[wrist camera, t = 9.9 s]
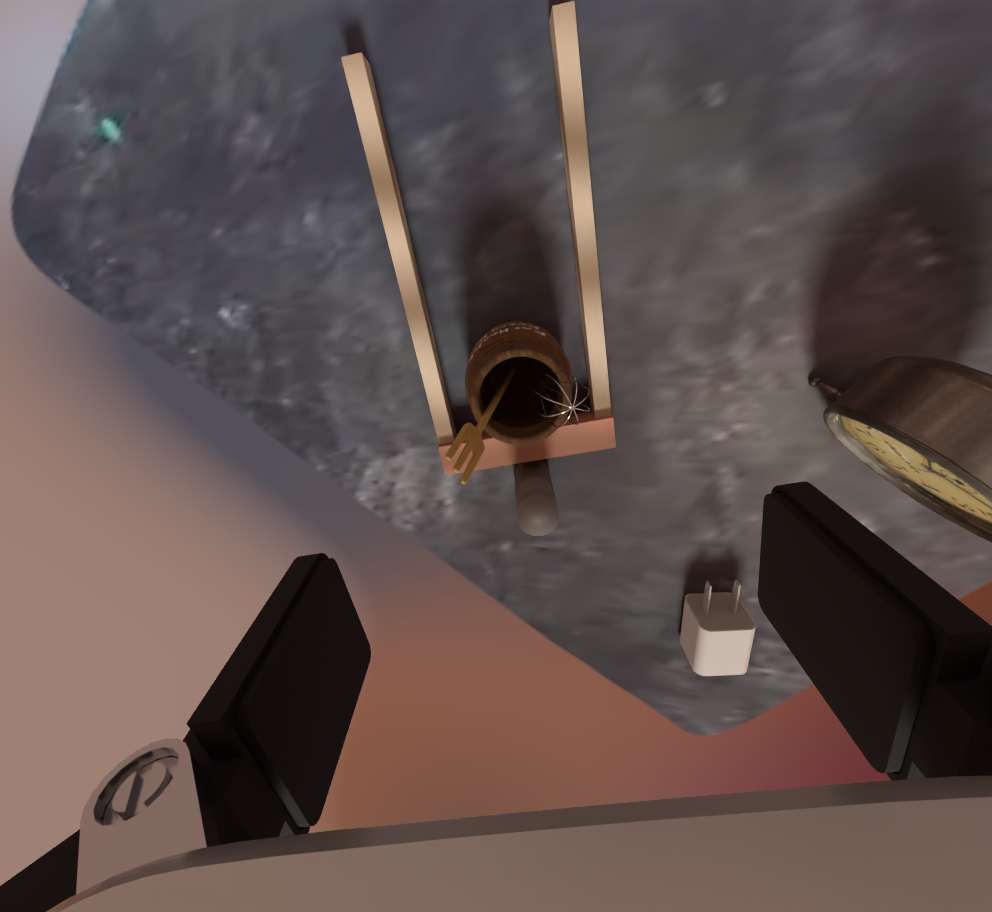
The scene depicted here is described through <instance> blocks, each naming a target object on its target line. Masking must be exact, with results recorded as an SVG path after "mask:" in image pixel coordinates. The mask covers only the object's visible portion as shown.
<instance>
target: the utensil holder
mask: <svg viewBox="0 0 992 912" xmlns="http://www.w3.org/2000/svg"><path fill="white" fill-rule="evenodd" d="M572 377H573V378H574V379H575V377H574V376H572V371H571V367H570V364H569V361H568V359H567V357H566V355H565V353H564V351H563V349H562V348H561V346H560V345H559V343H558V342H557V341H556V339H555V338H554V337H553V336H552V335H551V334H550V333H549V332H548V331H547V330H545V329H544V328H542V327H541V326H539V325H536V324H534V323H531V322H527V321H508V322H504V323H501V324H498V325H496V326H494V327H492V328H491V329H489V330H488V331H487V332H486V333H484V334H483V335H482V336H481V338H480V339H479V340H478V341H477V343H476V344H475V346H474V348H473V350H472V353H471V355H470V358H469V362H468V365H467V370H466V377H465V388H466V394H467V398H468V401H469V404H470V407H471V410H472V412H473V415H474V417H475V419H476V421H477V422H478V424H477V426H476V427H475V426H474V425H472V424H471V423H466V424H464V425H463V427H462V428H461V430H460V432H459V433H458V435H457V437H456V438H455V440H454V442H453V443H452V445H451V447H450V448H449V450H448V452H447V453H446V459H447V460H451V459H452V458H453V456H454V455H455V453H456V452H457V450H458V449H459V447H460V445H461V444H462V442H463V441H464V439H465V441H466V445H465V446H464V448H463V450H462V452H461V454H460V455H459V457H458V459H457V461H456V463H455V465H454V466H453V470H454V472H459V471H460V469H461V467H462V466H463V464H464V462H465V460H466V459H467V457H468V455H469V454H470V452H471V451H472V454H473V455H472V457H471V459H470V461H469V463H468V465H467V467H466V469H465V471H464V473H463V475H462V477H461V483H462V484H466V483H467V481H468V479H469V477H470V476H471V474H472V472H473V470H474V468H475V467H476V465H477V463H478V461H479V459H480V458H481V456H482V454H483V452H484V450H485V446H484V443H483V440H482V436H481V433H482V431H483V430H484V431H485V432H486V433H487V434H489V435H490V436H491V437H493V438H495V439H497V440H499V441H501V442H504V443H507V444H512V445H528V444H533V443H536V442H539V441H541V440H543V439H545V438H547V437H549V436H550V435H551V434H553V433H554V432H555V431H556V430H557V429H558V428H560V427H562V426H563V425H565V423H566V422H567V421H568V419H569V417H570V415H571V413H572V410H573V411H574V413H575V415H576V412H575V410H574V409H577V410H582V409H578V408H574V407H576V406H578V405H579V404H581V405H583V404H582V402H583V401H584V400H585V399H586V398H587V397H588V395H589V389H588V388H586V387H585V386H583V385H581V384H579V383H577V382H576V379H575V382H573V380H572ZM572 383H576V395H575V400H574V399H572ZM577 384H579V385H581V386H583V387H584V388H586V389H587V390H588V395H587V396H586V398H585V399H584V400H582V401H581V402H578V401H576V396H577ZM571 399H572V400H574V404H575V401H576V402H578V403H579V404H577V405H575V406H574V404H573V406H572V404H571ZM570 405H571V406H572V407H570ZM583 406H584V407H586V406H585V405H583ZM586 408H587V409H589V408H588V407H586ZM571 409H572V410H571ZM569 410H571V412H570V415H569V417H567V414H568V412H569ZM582 411H590V409H589V410H582ZM565 418H567V420H566V422H565V423H564V424H563V425H562V426H561V424H562V423H563V422H564V420H565ZM576 418H577V421H578V417H577V415H576ZM569 420H570V419H569ZM570 421H571V420H570ZM571 422H573V421H571ZM573 423H574V422H573ZM574 424H575V425H578V424H579V421H578V424H576V423H574Z"/></svg>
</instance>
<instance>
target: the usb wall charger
mask: <svg viewBox="0 0 992 912" xmlns="http://www.w3.org/2000/svg"><path fill="white" fill-rule="evenodd" d="M736 584H737V587H738V589H737V587H736ZM708 587H709V589H708ZM740 587H741V585H740V584H739V582H738V581H737V580H736V579H735V581H734V585H733V590H732V593H729V592H721V593H711V589H712V587H711V585H710V583H709V582H708V581H706V585H705V591H704V593H700V594H687V595H686V596H685V601H684V609H683V618H682V626H681V634H680V643H681V645H682V647H683V650H684V652H685V654H686V656H687V658H688V660H689V663H690V665H691V667H692V669H693V670H694V671H695V672H696V673H697V674H699V675H702V676H719V675H741V674H744V673H746V671H747V666H748V662H749V657H750V652H751V647H752V642H753V637H754V632H755V627H756V623H755V622H754V620H753V619H752V617H751V616H750V614H749V613H748V611H747V610H746V609H745V607H744V606H743V604H742V603H741V601H740V600H739V595H740Z"/></svg>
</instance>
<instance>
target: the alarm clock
mask: <svg viewBox="0 0 992 912" xmlns="http://www.w3.org/2000/svg"><path fill="white" fill-rule="evenodd" d="M809 385H810V386H812V387H817V388H819V390H820V391H821V392H822V393H824V394H825V395H826V396H828V397H829V398H831V399H833V400H835V402H834V403H833V404H832V405H831V406H830V407H828V408H827V409H826V410H825V411H824V416H823V417H824V421H825V424H826V425H827V427H828V428H829V430H830V431H831V433H832V434H833V435H834V436H835V437H836V438H837V439H838V440H839V441H840V442H841V443H842V444H843V445H844V446H845V447H846V448H847V449H848V450H849V451H850V452H852V453H853V454H854V455H855V456H856V457H857V458H858V459H860V460H861V461H862V462H863V463H865V464H866V465H867V466H869V467H870V468H871V469H872V470H874V471H875V472H876V473H877V474H879V475H880V476H882V477H883V478H884V479H886V480H887V481H889V482H890V483H892V484H893V485H894V486H896V487H897V488H898V489H900V490H901V491H903V492H904V493H906V494H907V495H909V496H910V497H911V498H913V499H915V500H916V501H918V502H919V503H921V504H922V505H924V506H925V507H927V508H929V509H931V510H932V511H934V512H936V513H937V514H939V515H941V516H942V517H944V518H946V519H947V520H949V521H951V522H953V523H955V524H957V525H959V526H960V527H962V528H964V529H966V530H968V531H970V532H972V533H973V534H975V535H977V536H979V537H981V538H984V539H986V540H988V541H990V542H992V375H990V374H987V373H985V372H982V371H979V370H976V369H973V368H970V367H967V366H964V365H961V364H958V363H954V362H951V361H946V360H942V359H937V358H931V357H923V356H899V357H893V358H889V359H885V360H883V361H880V362H878V363H876V364H875V365H873V366H872V367H871V368H870V369H869V370H868V371H867V372H866V373H865V374H864V375H863V376H861V377H860V378H859V379H858V380H857V381H856V382H855V383H854V384H853V385H852V386H851V387H850V388H849V389H848V390H847V391H845V392H844V391H842V390H841V389H839V388H837V387H835V386H832V385H830V384H827V383H823V382H822V381H821V379H820V378H819V377H812V378H811V379H810V381H809Z"/></svg>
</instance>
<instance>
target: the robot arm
mask: <svg viewBox="0 0 992 912" xmlns="http://www.w3.org/2000/svg"><path fill="white" fill-rule="evenodd" d="M758 599H759V603H760V606H761V608H762V610H763V612H764V614H765V615H766V617H767V618H768V619H769V621H770V622H771V624H772V625H773V627H774V628H775V629H776V631H777V632H778V634H779V635H780V637H781V638H782V639H783V641H784V642H785V644H786V645H787V647H788V648H789V649H790V651H791V652H792V654H793V655H794V656H795V658H796V659H797V661H798V662H799V664H800V665H801V666H802V668H803V669H804V671H805V672H806V674H807V675H808V676H809V678H810V679H811V681H812V682H813V684H814V685H815V686H816V688H817V689H818V691H819V692H820V693H821V695H822V696H823V698H824V699H825V701H826V702H827V703H828V705H829V706H830V708H831V709H832V711H833V712H834V713H835V715H836V716H837V718H838V719H839V721H840V722H841V723H842V725H843V726H844V728H845V729H846V730H847V732H848V733H849V735H850V736H851V738H852V739H853V740H854V741H855V743H856V744H857V746H858V747H859V749H860V750H861V752H862V753H863V755H864V756H865V758H866V759H867V760H868V762H869V763H870V764H871V766H872V767H873V768H874V769H875V770H876V771H878V772H880V773H887V775H888V776H889V777H890V779H891V780H892V781H880V782H866V783H850V784H836V785H825V786H813V787H802V788H790V789H778V790H766V791H756V792H744V793H732V794H721V795H708V796H697V797H685V798H673V799H663V800H651V801H640V802H630V803H619V804H608V805H597V806H585V807H574V808H564V809H553V810H542V811H531V812H520V813H510V814H499V815H488V816H477V817H467V818H457V819H447V820H437V821H426V822H416V823H407V824H396V825H386V826H375V827H366V828H355V829H345V830H334V831H325V832H317V833H308V832H309V829H310V826H314V825H315V824H316V823H317V822H318V820H319V818H320V816H321V813H322V810H323V807H324V804H325V801H326V797H327V794H328V791H329V788H330V785H331V782H332V779H333V776H334V772H335V769H336V766H337V763H338V760H339V757H340V754H341V750H342V747H343V744H344V741H345V738H346V734H347V732H348V729H349V725H350V722H351V719H352V716H353V713H354V709H355V707H356V703H357V700H358V697H359V694H360V691H361V687H362V684H363V682H364V678H365V675H366V672H367V669H368V666H369V663H370V658H371V650H370V645H369V642H368V639H367V637H366V634H365V632H364V629H363V627H362V625H361V622H360V620H359V617H358V615H357V612H356V609H355V607H354V605H353V602H352V600H351V597H350V595H349V592H348V590H347V587H346V585H345V582H344V580H343V577H342V575H341V572H340V570H339V567H338V565H337V563H336V561H335V560H334V559H332V558H330V559H329V558H328V556H327V555H325V554H323V553H319V554H313V555H306V556H300V557H297V558H296V559H295V560H294V561H293V563H292V564H291V566H290V567H289V569H288V571H287V572H286V574H285V575H284V577H283V578H282V580H281V581H280V583H279V584H278V586H277V587H276V589H275V590H274V592H273V593H272V595H271V596H270V598H269V599H268V601H267V602H266V604H265V605H264V607H263V608H262V610H261V611H260V613H259V614H258V616H257V618H256V619H255V621H254V622H253V624H252V625H251V627H250V628H249V630H248V631H247V633H246V634H245V636H244V637H243V639H242V640H241V642H240V643H239V645H238V646H237V648H236V649H235V651H234V652H233V654H232V655H231V657H230V659H229V660H228V662H227V663H226V665H225V666H224V668H223V669H222V671H221V672H220V674H219V675H218V677H217V678H216V680H215V681H214V683H213V684H212V686H211V687H210V689H209V690H208V692H207V693H206V695H205V696H204V698H203V699H202V701H201V703H200V704H199V706H198V707H197V709H196V710H195V712H194V713H193V715H192V716H191V718H190V719H189V721H188V722H187V725H188V726H189V728H190V730H189V732H188V734H187V735H186V737H185V738H184V740H183V741H181V740H179V739H164V740H160V741H157V742H154V743H151V744H149V745H147V746H145V747H143V748H141V749H139V750H138V751H136V752H134V753H133V754H132V755H130V756H129V757H128V758H126V759H125V760H123V761H122V762H121V763H119V764H118V765H117V766H116V767H115V768H114V769H113V770H112V771H111V772H110V773H109V774H108V775H106V777H105V778H104V779H103V780H102V781H101V783H100V784H99V785H98V786H97V788H96V789H95V790H94V791H93V793H92V794H91V796H90V798H89V800H88V801H87V803H86V805H85V807H84V810H83V814H82V818H81V824H80V830H78V831H77V832H75V833H74V834H73V835H71V836H70V837H69V838H67V839H66V840H64V841H63V842H61V843H60V844H59V845H57V846H56V847H54V848H53V849H52V850H50V851H49V852H47V853H46V854H45V855H43V856H42V857H41V858H39V859H38V860H36V861H35V862H33V863H32V864H31V865H29V866H28V867H26V868H25V869H24V870H22V871H21V872H19V873H18V874H17V875H15V876H14V877H12V878H11V879H10V880H8V881H7V882H5V883H4V884H3V885H1V886H0V912H992V626H991V625H989V624H988V623H987V622H986V621H984V620H983V619H982V618H981V617H979V616H978V615H977V614H975V613H974V612H973V611H972V610H970V609H969V608H968V607H967V606H965V605H964V604H963V603H961V602H960V601H959V600H958V599H956V598H955V597H954V596H953V595H951V594H950V593H949V592H947V591H946V590H945V589H944V588H942V587H941V586H940V585H939V584H937V583H936V582H935V581H934V580H932V579H931V578H930V577H928V576H927V575H926V574H925V573H923V572H922V571H921V570H920V569H918V568H917V567H916V566H914V565H913V564H912V563H911V562H909V561H908V560H907V559H906V558H904V557H903V556H902V555H900V554H899V553H898V552H897V551H895V550H894V549H893V548H892V547H890V546H889V545H888V544H886V543H885V542H884V541H883V540H881V539H880V538H879V537H878V536H876V535H875V534H874V533H873V532H871V531H870V530H869V529H867V528H866V527H865V526H864V525H862V524H861V523H860V522H859V521H857V520H856V519H855V518H853V517H852V516H851V515H850V514H848V513H847V512H846V511H845V510H843V509H842V508H841V507H839V506H838V505H837V504H836V503H834V502H833V501H832V500H831V499H829V498H828V497H827V496H825V495H824V494H823V493H822V492H820V491H819V490H818V489H817V488H815V487H814V486H813V485H812V484H810V483H808V482H798V483H791V484H785V485H778V486H775V487H774V488H773V490H772V493H771V494H767V495H766V496H765V498H764V506H763V521H762V537H761V553H760V569H759V585H758Z"/></svg>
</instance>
